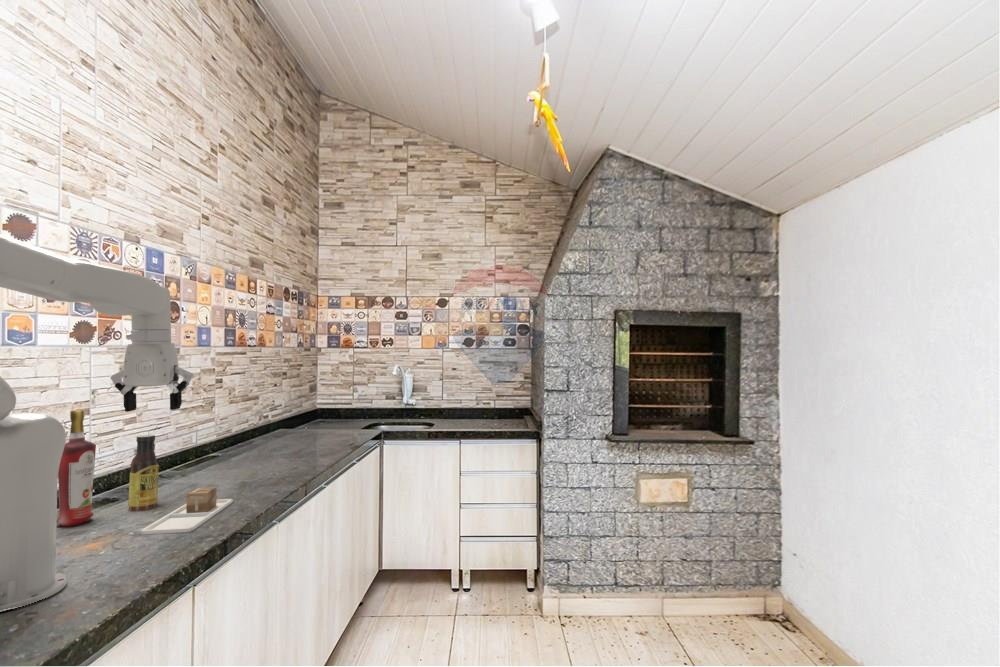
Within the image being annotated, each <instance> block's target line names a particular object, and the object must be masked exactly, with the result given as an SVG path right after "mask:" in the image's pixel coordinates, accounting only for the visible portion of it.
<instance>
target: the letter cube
mask: <svg viewBox="0 0 1000 667" xmlns="http://www.w3.org/2000/svg"><path fill="white" fill-rule="evenodd" d="M217 488H218V487H215V486H214V487H213V486H212V487H196V488H195V489H193V490H190V491H189V492H187V493H186V503H185V504H186V513H201V512H208V511H210V510H211V509H213V508H214V507H216V500H217V493H218V492H217Z"/></svg>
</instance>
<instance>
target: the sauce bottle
mask: <svg viewBox="0 0 1000 667" xmlns="http://www.w3.org/2000/svg"><path fill="white" fill-rule="evenodd" d="M155 441H156V435H155V434H146V435H145V434H144V435H143V434H142V435H137V436H136V444H137V445H136V454H135V456H134V457H133V458H132V460H131V462H130V471H129V482H128V483H129V485H128V504H127V505H128V511H129V512H141V511H146V510H151V509H154V508H155V507H156V506H157V503H158V490H159V470H160V469H159V468H160V465H159V462H158V460H157V457H156V453H155Z"/></svg>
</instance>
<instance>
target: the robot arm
mask: <svg viewBox="0 0 1000 667" xmlns="http://www.w3.org/2000/svg"><path fill="white" fill-rule="evenodd" d="M0 288H3V289H7V290H11V291H15V292H18V293H22V294H27V295H31V296H35V297H37V298H42V299H46V300H48V301H49V300H51V301H56V302H57V301H58V302H66V303H84V304H89V305H90V306H91V308H92V309H93V310H94V311H96V312H97V313H99V314H101V315H104V316H112V317H113V316H115V317H118V316H120V317H122V316H123V317H124V316H126V317H127V316H131V317H130V318H131V330H130V332H129V333H126V334H125V338H126V339H127V340H130V342H131V344H127V346H126V349H125V353H124V359H123V369H122V370H120V371H118V372H116V373H114V374H113V375H111V376H110V380H111V381H112V383H113V385H114V387H115V389H117V390H118V391H119V392H120V394H121V395H122V396H123V408H124V412H125V413H128V412H132V411H136V410H137V394H136V392H135V391H136V389H137V388H138V387H141V388H142V387H162V386H167V388H168V389H169V390H170V391H171V392H170V394H169V409H170V411H175V410H178V409H179V410H180V408H181V405H182V401H183V400H182V398H183V397H182V392H184V390H185V389H186V388H187V387H188V386H189V385H190V382H191V380H192V379H193V376H194V373H192V372H190V371H188V370H186V369H184V368H181V367H180V366H179V359H178V353H177V349H176V346H175V343H174V342H173V343H172V321H171V320H172V319H171V318H172V317H171V316H172V313H171V312H172V309H171V308H172V307H171V305H172V304H171V302H172V301H171V292H170V289H169V288H168V287H167V286H163V285H162V286H161V285H160V284H159V283H158V282H156V281H155V280H153V279H150V278H148V277H146V276H143V275H140V274H137V273H134V272H131V271H128V270H123V269H119V268H115V267H110V266H105V265H100V264H95V263H92V262H88V261H83V260H77V259H72V258H69V257H66V256H62V255H60V254H57V253H54V252H51V251H49V250H46V249H43V248H40V247H37V246H36V245H35V246H34V245H32V244H29V243H26V242H23V241H20V240H17V239H15V238H12V237H9V236H6V235H3V234H0ZM180 376H181V377H183V379H182V381H181V382H179V380H180ZM16 396H17V395H16V393H15V391H14V390H13V389H12V387H11V386H10V384H9V383H8V382H7V381H6V380H5V379H4V378H3V377H2V376H1V375H0V610H3V609H8V608H13V607H19V606H24V605H27V604H30V605H32V604H31V603H33V604H35V603H34V602H36V603H38V602H37V601H39V600H41V601H42V599H43V600H45V598H46V599H48V598H49V597H52V596H53V595H55V594H57V593H58V592H60V591H61V590H63V589H64V588H65V587H66V585H67V583H68V577H67V575H66V574H64V573H62V572H57V569H56V564H57V562H56V561H57V523H58V522H57V520H58V472H59V466H60V461H61V457H62V454H63V451H64V447H65V444H66V443H67V442H66V441H67V434H66V429H65V427H64V425H63V423H61V422H60V420H58V419H57V418H55V417H54V416H51V415H48V414H43V413H38V412H13V411H14V410H15V408H16V404H17V397H16ZM39 602H40V601H39ZM27 606H28V605H27ZM24 607H25V606H24Z"/></svg>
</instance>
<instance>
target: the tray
mask: <svg viewBox="0 0 1000 667" xmlns="http://www.w3.org/2000/svg"><path fill="white" fill-rule="evenodd" d="M233 503H234V498H223V499H216V507H214V508H213V509H211V510H210V511H208V512H201V513H186V503H185V504H183V505H181V506H180V507H178V508H176V509H174V510H172V511H171V512H170V513H168V514H166V515H164V516H162V517H161V518H159V519H158V520H156V521H154V522H152V523H150V524H149V525H147V526H145V527H144V528H142V529H141V530H139V531H138V535H139V536H145V535H163V534H165V535H166V534H178V533H179V534H180V533H191V532H193V531H195V529H198V528H199V527H200V526H201V525H203V524H204V523H206V522H207V521H209V520H210V519H211V518H213V517H215V516H216V515H217V514H218V513H220V512H221V511H223V510H224V509H226V508H227V507H228V506H230V505H232V504H233Z"/></svg>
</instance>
